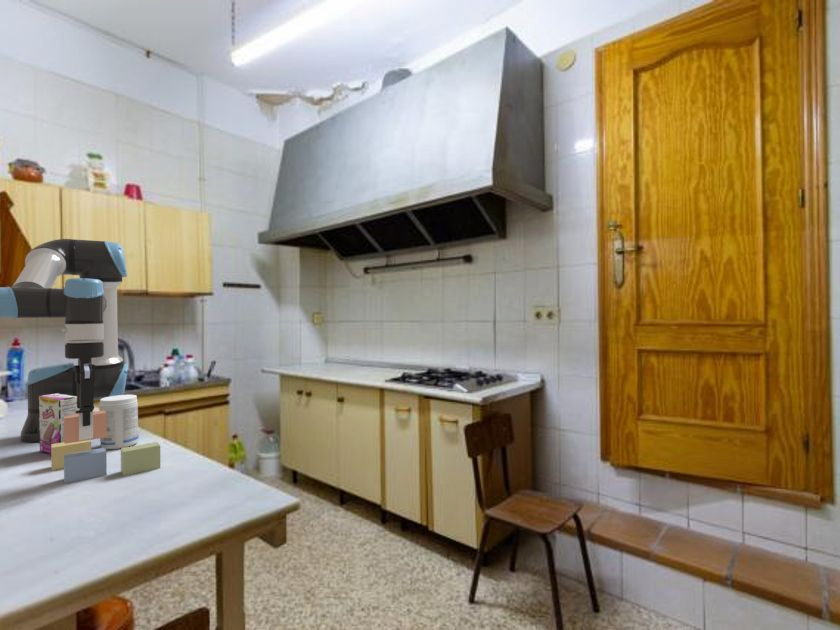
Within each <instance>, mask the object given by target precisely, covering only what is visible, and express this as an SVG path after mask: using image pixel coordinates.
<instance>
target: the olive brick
mask: <svg viewBox="0 0 840 630" xmlns="http://www.w3.org/2000/svg"><path fill="white" fill-rule="evenodd" d="M157 468H159V469H161V444H160V443H159V442H157V441H154V442H150V443H149V442H148V443H143V444H137V445H132V446H130V447H125V448H121V449H120V472H122V473H121V474H122V476H123V477H124V475H125V476H129V475H128V474H130V475H133V474H132V473H135V474H139V473H138V472H140V473H143V471H144V472H149V471H153V470H152V469H154V470H158V469H157ZM148 470H149V471H148Z"/></svg>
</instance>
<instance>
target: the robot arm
mask: <svg viewBox="0 0 840 630" xmlns="http://www.w3.org/2000/svg"><path fill="white" fill-rule="evenodd" d="M24 265H25V266H24V267H23V269H22V270H21V272H20V273H19V276H18V277H17V279H16V280H15V282H14V283H13V285H12V286H5V287H3V286H1V287H0V319H1V318H5V319H33V318H34V319H35V318H36V319H38V318H40V319H43V318H47V319H49V318H51V319H52V318H53V319H54V318H61V319H63V318H64V328H62V329H61V332H62V333H65V335H64V336H65V339H64V340H65V341H67V342H65V344H64V357H65V358H66V359H69V360H71V359H72V360H76V359H77V365H75V364H74V362H66V363H65V362H64V363H57V364H50V365H45V366H40V367H36V368H32V369H31V370H30V371H29V372H28V374H27V383H26V386H27V416H26V419H25V422H24V424H23V426H22V429H21V431H20V441H21V442H24V443H25V442H26V443H37V442H38V443H40V428H39V427H40V422H39V396H42V395H49V394H57V393H58V394H64V395H71V396H77V402H76V404H77V408H78V410H77V411H76V414H79V440H85V439H91V438H93V412H94V410H95V401H98V400H99V401H100V399H102V398H105V397H110V396H117V395H125V394H124V393H125V390H126V383H127V378H128V371H129V365H128V363H124V359H123V357H121V356H120V355H119V346H118V345H119V343H118V342H119V340H118V339H119V337H118V335H119V333H118V287H119V286H120V285H121V284H122V283H123V278H126V277H127V276H128V270H127V263H126V257H125V251H124V247H123V246H122V244H120V243H118V242H113V241H106V240H105V241H104V240H103V241H102V240H88V239H73V238H58V239H53V240H50V241H46V242H44V243H41V244H38V245H36V246H35V247H33V248H32V249H31V250H30V251H29V252H28V253H27V255H26V257H25V259H24ZM63 275H65V276H66V275H67V276H68V275H69V276H70V275H71V276H79V277H72V278H67V279H66V280H65V282H64V288H54V285H55V283H56V281H57V279H58V277H59V276H63ZM65 327H66V328H65Z"/></svg>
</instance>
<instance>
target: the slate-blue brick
mask: <svg viewBox="0 0 840 630" xmlns="http://www.w3.org/2000/svg"><path fill="white" fill-rule="evenodd" d="M107 460H108V459H107V449H105V448H101V447H100V448H95V449H94V448H93V449H91V450H87V451H82V452H76V453H70V454H64V469H63V480H64V484H65V483H66V484H69V482H70V483H74V481H75V482H80V481H85V480H89V478H90V479H94V478H93V477H95V478H98V477H97V476H100V477H103V476H102V475H105V476H107V474H108V473H107V465H108V464H107ZM84 479H85V480H84ZM79 480H80V481H79Z"/></svg>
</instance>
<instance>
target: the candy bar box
mask: <svg viewBox="0 0 840 630" xmlns="http://www.w3.org/2000/svg"><path fill="white" fill-rule="evenodd" d="M76 402H77V396H71V395H64V394H58V393H57V394H49V395H42V396H39V422H40V427H39V428H40V442H39V452H40V453H45V454H49V455H51V444H56V443H63V442H64V415H72V414H76V411H77V410H78V408H77V404H76Z"/></svg>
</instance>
